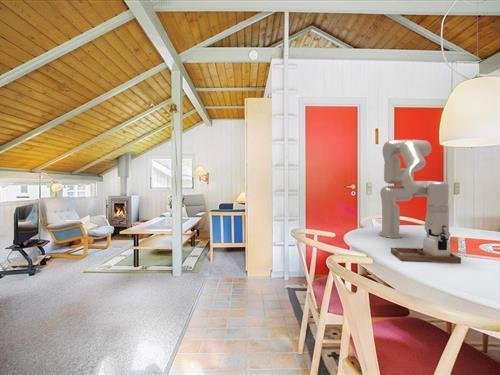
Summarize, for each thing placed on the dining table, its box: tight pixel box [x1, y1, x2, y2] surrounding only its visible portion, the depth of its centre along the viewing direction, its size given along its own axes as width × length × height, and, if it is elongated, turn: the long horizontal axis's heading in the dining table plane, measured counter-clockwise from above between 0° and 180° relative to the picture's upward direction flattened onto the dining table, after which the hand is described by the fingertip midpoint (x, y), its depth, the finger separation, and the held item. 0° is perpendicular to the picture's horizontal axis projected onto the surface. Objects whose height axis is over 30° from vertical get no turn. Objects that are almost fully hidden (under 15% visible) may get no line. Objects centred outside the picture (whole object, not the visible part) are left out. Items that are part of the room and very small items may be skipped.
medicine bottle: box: [422, 229, 451, 257], centre depth 107 cm, size 7×7×12 cm
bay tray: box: [390, 247, 462, 264], centre depth 108 cm, size 12×23×2 cm, turn 80°
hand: (436, 246), depth 107 cm, fingers closed on medicine bottle, 7 cm apart
